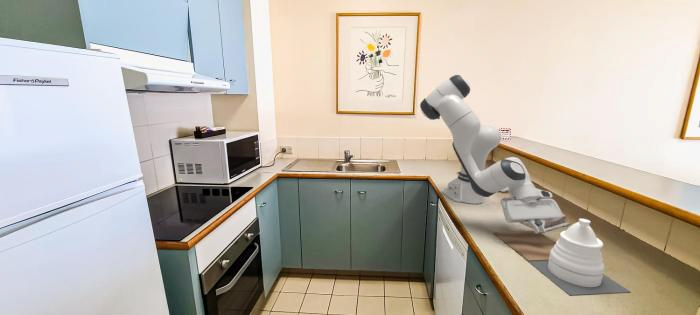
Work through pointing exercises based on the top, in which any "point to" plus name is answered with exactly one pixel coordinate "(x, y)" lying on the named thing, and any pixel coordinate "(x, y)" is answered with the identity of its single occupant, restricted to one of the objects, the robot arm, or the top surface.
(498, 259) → the top surface
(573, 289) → the trivet mat
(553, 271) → the honey pot
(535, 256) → the cutting board
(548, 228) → the packaged product
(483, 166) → the robot arm
